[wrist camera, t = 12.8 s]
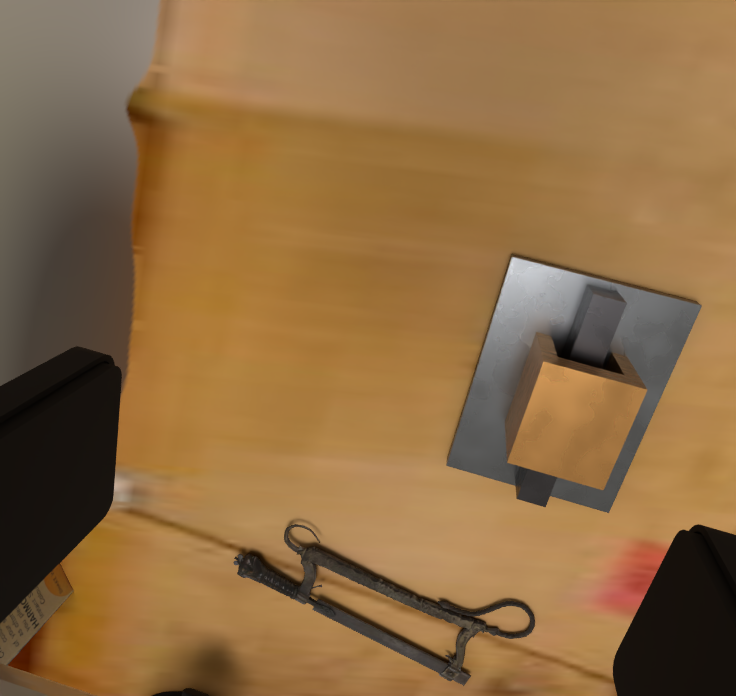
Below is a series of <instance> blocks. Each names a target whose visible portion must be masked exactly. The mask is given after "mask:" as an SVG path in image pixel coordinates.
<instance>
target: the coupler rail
mask: <svg viewBox="0 0 736 696" xmlns="http://www.w3.org/2000/svg"><path fill="white" fill-rule="evenodd" d="M701 306H702V305H700V304H699V303H698V302H697V301H693V300H689V299H685V298H682V297H678V296H674V295H670V294H666V293H662V292H658V291H654V290H650V289H646V288H643V287H639V286H635V285H631V284H627V283H623V282H619V281H615V280H611V279H607V278H604V277H600V276H596V275H592V274H588V273H584V272H580V271H576V270H572V269H569V268H565V267H561V266H557V265H553V264H549V263H545V262H541V261H537V260H533V259H530V258H526V257H522V256H518V255H514V254H511V258H510V261H509V264H508V267H507V270H506V273H505V277H504V280H503V283H502V286H501V289H500V293H499V296H498V299H497V302H496V305H495V308H494V312H493V315H492V318H491V321H490V324H489V327H488V331H487V334H486V337H485V340H484V343H483V347H482V350H481V353H480V356H479V359H478V362H477V366H476V369H475V372H474V375H473V378H472V381H471V385H470V388H469V391H468V394H467V397H466V401H465V404H464V407H463V410H462V413H461V416H460V420H459V423H458V426H457V429H456V432H455V435H454V439H453V442H452V445H451V448H450V451H449V455H448V458H447V464H446V466H450V467H453V468H457V469H460V470H463V471H467V472H470V473H474V474H477V475H481V476H484V477H487V478H491V479H494V480H498V481H501V482H505V483H508V484H511V485H515V486H516V496H517V499H519V500H523V501H526V502H530V503H533V504H536V505H540V506H543V507H546V505H547V502H548V500H549V497H550V496H552V497H556V498H559V499H563V500H566V501H570V502H573V503H576V504H580V505H583V506H587V507H590V508H594V509H597V510H600V511H604V512H607V513H609V511H610V509H611V507H612V505H613V502H614V500H615V498H616V496H617V493H618V491H619V489H620V487H621V485H622V482H623V480H624V478H625V476H626V473H627V471H628V469H629V467H630V465H631V462H632V460H633V458H634V456H635V453H636V451H637V449H638V447H639V444H640V442H641V440H642V438H643V436H644V433H645V431H646V429H647V427H648V424H649V422H650V420H651V418H652V416H653V413H654V411H655V409H656V407H657V404H658V402H659V400H660V398H661V396H662V393H663V391H664V389H665V387H666V384H667V382H668V380H669V378H670V375H671V373H672V371H673V369H674V367H675V364H676V362H677V360H678V358H679V355H680V353H681V351H682V349H683V347H684V344H685V342H686V340H687V338H688V335H689V333H690V331H691V329H692V326H693V324H694V322H695V320H696V318H697V315H698V313H699V311H700V309H701ZM536 332H538V333H542V334H546V335H549V336H551V337H552V340H553V343H554V346H555V350H556V353H557V356H558V357H560V358H563V359H567V360H571V361H574V362H578V363H582V364H585V365H589V366H593V367H596V368H600V369H604V370H605V367H606V365H607V362H608V360H609V358H610V355H611V353H612V352H613V353H617V354H620V355H624V356H627V357H628V359H629V360H630V362H631V364H632V365H633V367H634V369H635V370H636V372H637V373H638V375H639V377H640V378H641V380H642V382H643V383H644V385H645V386H646V388H647V392H646V395H645V397H644V399H643V401H642V404H641V406H640V408H639V411H638V413H637V415H636V417H635V420H634V422H633V424H632V426H631V429H630V431H629V433H628V436H627V438H626V440H625V442H624V445H623V447H622V449H621V452H620V454H619V456H618V458H617V461H616V463H615V465H614V467H613V470H612V472H611V474H610V477H609V479H608V481H607V483H606V486H605V488H604V490H600V489H596V488H593V487H590V486H586V485H583V484H579V483H576V482H572V481H569V480H565V479H562V478H558V477H555V476H552V475H548V474H545V473H541V472H538V471H534V470H531V469H527V468H524V467H520V466H517V465H514V464H510V463H507V453H506V437H505V420H506V418H507V415H508V412H509V409H510V406H511V403H512V400H513V398H514V395H515V392H516V389H517V386H518V383H519V380H520V377H521V375H522V372H523V369H524V366H525V363H526V360H527V357H528V354H529V352H530V349H531V346H532V343H533V340H534V337H535V334H536Z"/></svg>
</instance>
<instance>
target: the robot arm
mask: <svg viewBox="0 0 736 696" xmlns="http://www.w3.org/2000/svg"><path fill="white" fill-rule="evenodd" d="M121 376H122V374H121V370H120V368H119V367H118V366H115V365H114V361H113V358H112V357H111V356H110V355H106V354H103V353H99V352H96V351H93V350H89V349H86V348H82V347H74V348H71V349H69V350H67V351H65V352H64V353H62V354H60V355H58V356H56V357H54V358H52V359H50V360H49V361H47V362H45V363H43V364H41V365H39V366H37V367H36V368H34V369H32V370H30V371H28V372H26V373H24V374H22V375H20V376H19V377H17V378H15V379H13V380H11V381H9V382H7V383H5V384H4V385H2V386H0V623H1V622H2V621H3V620H4V619H5V618H6V617H7V616H8V615H9V614H10V613H11V612H12V611H13V610H14V609H15V608H16V607H17V606H18V605H19V604H20V603H21V602H22V601H23V600H24V599H25V598H26V597H27V596H28V595H29V594H30V593H31V592H32V591H33V590H34V589H35V588H36V587H37V586H38V585H39V584H40V583H41V582H42V581H43V580H44V579H45V577H46V576H47V575H48V574H49V573H50V572H51V571H52V570H53V569H54V568H55V567H56V566H57V565H58V564H59V563H60V562H61V561H62V560H63V559H64V558H65V557H66V556H67V555H68V554H69V553H70V552H71V551H72V550H73V549H74V548H75V547H76V546H77V545H78V544H79V543H80V542H81V541H82V540H83V539H84V538H85V537H86V536H87V535H88V534H89V533H90V532H91V531H92V530H93V528H94V527H95V526H96V525H97V524H98V523H99V522H100V521H101V520H102V519H103V518H104V517H105V516H106V514H107V512H108V511H109V509H110V506H111V504H112V501H113V494H114V479H115V465H116V451H117V436H118V422H119V408H120V393H121V378H122V377H121ZM613 678H614V683H615V687H616V692H617V696H736V535H734V534H730V533H727V532H723V531H720V530H717V529H713V528H710V527H706V526H703V525H699V524H698V525H695V526H693V527H692V528H691V529H690V530H689V531H686V530H681V531H679V532H678V533H677V535H676V536H675V538H674V540H673V542H672V544H671V546H670V548H669V550H668V551H667V553H666V555H665V557H664V559H663V561H662V563H661V565H660V567H659V569H658V571H657V573H656V575H655V577H654V579H653V581H652V583H651V585H650V587H649V589H648V591H647V593H646V595H645V597H644V599H643V601H642V603H641V605H640V607H639V609H638V611H637V613H636V615H635V617H634V619H633V621H632V623H631V625H630V627H629V629H628V631H627V633H626V635H625V637H624V638H623V640H622V642H621V644H620V646H619V648H618V650H617V653H616V655H615V659H614V664H613ZM0 696H96V695H93V694H90V693H87V692H84V691H81V690H78V689H75V688H72V687H69V686H66V685H63V684H60V683H57V682H54V681H51V680H48V679H45V678H42V677H39V676H36V675H34V674H31V673H28V672H25V671H22V670H19V669H16V668H13V667H10V666H7V665H4V664H1V663H0Z"/></svg>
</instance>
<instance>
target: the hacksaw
mask: <svg viewBox="0 0 736 696" xmlns="http://www.w3.org/2000/svg"><path fill="white" fill-rule="evenodd" d="M293 527H302V528H305V529H307V530H309V531H311V532H312V533H313V535H314V536H315V537H316V539H317V540H318V541H319V539H318V538H317V536H316V535H315V533H314V532H313V531H312V530H311V529H309V528H307V527H305V526H302V525H297V524H295V525H291V526H289V527H287V528H286V530H285V534H284V540H285V543H286V544H287V545H288V547H289V548H291V549H292V550H293V551H295V552H297V554H300V555H301V558H302V560H301V564H302V565H303V567H304V572H305V577H304V580H303V582H302V584H301V586H299V585H295V584H294V583H292V582H291V581H289V580H287V579H286V578H285V577H282V576H280V575H279V574H277V573H275V572H274V571H272V570H270V569H268V568H267V567H265V566H264V565H263V564H262V562H261V561H260V560H259V558H258V557H256V556H253V555H251V554H247V555H246V556H245V557H244V558H243V556H242V555H241V554H239V555H238V558H237V557H235V559H236V560H237V561H234V565H238V564H239V570H238V573H237V574H238V575H240V576H241V577H243V578H246V577H247V578H250V579H252V580H255V581H257V582H259V583H262V584H264V585H266V586H268V587H270V588H272V589H274V590H276V591H278V592H280V593H282V594H284V595H286V596H290V598H291V599H295V600H297V601H298V602H300V603H302V604H306V603H309V604H311V605H312V606H314V608H313V609H312V610H314V611H316V612H318V613H321V614H323V615H325V616H327V617H328V618H330V619H332V620H334V621H336V622H338V623H340V624H343V625H345V626H347V627H349V629H350V628H351V629H352V630H354V631H356V632H358V633H360V634H362V635H364V636H366V637H369V638H371V639H373V641H376V642H378V643H380V644H382V645H384V646H386V647H388V648H390V649H392V650H394V651H397V653H398V652H399V653H400V654H402V655H404V656H406V657H408V658H410V659H412V660H414V661H416V662H419V664H421V665H423V666H426V667H428V668H430V669H432V670H434V671H436V672H438V673H439V676H441V677H443V678H445V679H447V680H448V681H451V680H454V681H456V682H458V683H460V684H462V685H463V686H464V685H465V683H466V682H467V681H468V679H469V678H470V677H471V675H469V674H467V673H465V672H463V671H461V669H460V668H461V667H462V664H463V660H464V654H465V646H466V644H467V642H468V641H469V639H470V638H471V637H472V636H473V637H474V636H475V635H476V634H477V633H478V632H479V631H482V632H483V633H484V631H485V632H489V633H490V634H492V635H493V636H495V635H498V636H501V637H505V638H509V639H514V638H522V637H526V636H528V635H529V634H530V633H531V632H532V630H533V628H534V626H535V619H534V615H533V613H532V612H531V611H530V609H529V608H528V607H526V606H525V605H524V604H521V603H519V602H514V601H505V602H502V603H499V604H496V605H494V606H490V607H489V608H487V609H484V610H481V611H476V612H469V611H466V610H461V609H459V608H456V607H454V606H451V605H450V604H449V603H448V602H445V601H438V603H439V604H440V605H441V606H439V605H437V604H435V603H432V602H430V601H427V600H425V599H424V600H423V598H421V599H419V598H417V597H416V596H415V595H413V594H410V593H409V592H407V591H405V590H402V589H399V588H396V587H395V586H394V585H392V584H390V583H387V582H386V581H383V579H378V578H376V577H374V576H372V575H371V574H369V573H367V572H365V571H364V570H361V569H359V568H356V567H355V566H353V565H350V564H349V563H346V562H344V561H342V560H340V559H338V558H337V557H335V556H333V555H331V554H329V553H326V552H324V551H322V550H320V549H318V548H316V547H314V546H313V547H310V548H303V547H301V546H300V547H297V546H295V545H294V544H293V543H291V542H290V540H289V538H288V534H289V531H290V529H291V528H293ZM319 543H320V541H319ZM315 564H317V565H319V566H322V567H325V568H327V569H329V570H331V571H333V572H335V573H337V574H339V575H342V576H344V577H346V578H349V579H350V580H352V581H355V582H358V584H362V585H363V586H366V587H368V588H370V589H372V590H375V591H376V592H379V593H381V594H384V595H386V596H387V597H390V598H392V599H394V600H397V601H399V602H401V603H403V604H405V605H408V606H410V607H413V608H415V609H417V610H419V611H422V612H424V613H427V614H428V615H431V616H433V617H436V618H439V619H444V620H445V621H447V622H449V623H454V624H456V625H458V626H459V627H464V629H463V630H462V631H461V632H460V634H459V636H458V638H457V642H456V656H454V658H453V659H452V658H451V657H450V656H449V655H445V656H446V657H448V658H449V660H450V662H449V663H448V664H447V663H445V662H444V661H442V660H440V659H438V658H436V657H434V656H432V655H430V654H428V653H426V652H424V651H422V650H420V649H418V648H416V647H414V646H412V645H410V644H408V643H406V642H404V641H402V640H400V639H398V638H396V637H394V636H392V635H390V634H388V633H386V632H384V631H382V630H380V629H378V628H376V627H374V626H372V625H370V624H368V623H366V622H364V621H362V620H360V619H358V618H356V617H354V616H352V615H350V614H348V613H346V612H344V611H342V610H340V609H338V608H336V607H334V606H332V605H330V604H328V603H326V602H324V601H322V600H320V599H318V600H317V601H316V600H314V599H312V598H311V597H310V595H311V594H310V590H311V589H312V588H316V587H322V585H319V586H315V587H312V586H313V584H314V582H315V579H316V565H315ZM506 606H516V607H520V608H522V609H523V610H525V611H526V613H528V615H529V617H530V626H529V628H528V630H526V631H525V632H521V633H516V634H507V633H502V632H500V631H499V629H497V628H488V627H487V626H486V623H485V622H482V621H479V620H474V618H470V617H467V616H480V615H482V614H486V613H489V612H491V611H494V610H496V609H499V608H501V607H506ZM451 610H452V611H451ZM459 613H461V614H463V615H466V616H462V615H461V614H459Z"/></svg>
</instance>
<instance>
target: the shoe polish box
mask: <svg viewBox="0 0 736 696" xmlns="http://www.w3.org/2000/svg"><path fill="white" fill-rule="evenodd" d="M72 592H73V589H72V587H71V585H70V583H69V581H68V579H67V577H66V575H65V573H64V571H63V569H62V567H61V565H60V563H59V564H58V565H57V566H56V567H55V568H54V569H53V570H52V571H51V572H50V573H49V574H48V575H47V576H46V577H45V579H44V580H43V581H42V582H41V583H40V584H39V585H38V586H37V587H36V588H35V589H34V590H33V591H32V592H31V593H30V594H29V595H28V596H27V597H26V598H25V599H24V600H23V601H22V602H21V603H20V604H19V605H18V606H17V607H16V608H15V609H14V610H13V611H12V612H11V613H10V614H9V615H8V616H7V617H6V618H5V619H4V620H3V621H2V622H1V623H0V663H1V664H4V665H8V664H9V663H10V662H11V661H12V659H13V658H14V657H15V656H16V655H17V654H18V653H19V652H20V650H21V649H22V648H23V647H24V646H25V645H26V644H27V643H28V642H29V640H30V639H31V638H32V637H33V636H34V635H35V634H36V633H37V631H38V630H39V629H40V628H41V627H42V626H43V625H44V624H45V622H46V621H47V620H48V619H49V618H50V617H51V616H52V615H53V614H54V612H55V611H56V610H57V609H58V608H59V607H60V606H61V605H62V603H63V602H64V601H65V600H66V599H67V598H68V597H69V596H70V594H71V593H72Z"/></svg>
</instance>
